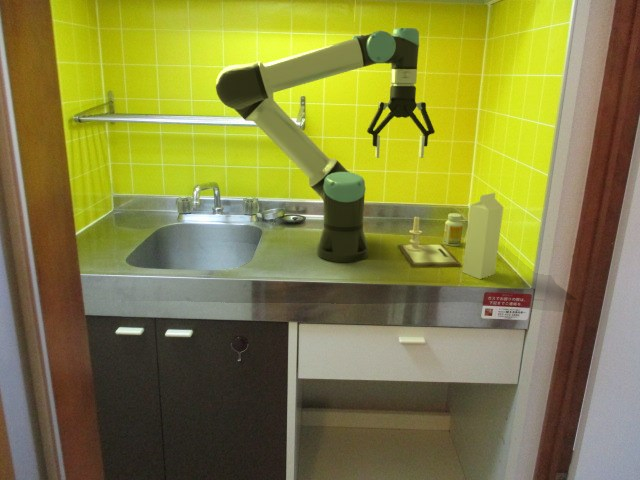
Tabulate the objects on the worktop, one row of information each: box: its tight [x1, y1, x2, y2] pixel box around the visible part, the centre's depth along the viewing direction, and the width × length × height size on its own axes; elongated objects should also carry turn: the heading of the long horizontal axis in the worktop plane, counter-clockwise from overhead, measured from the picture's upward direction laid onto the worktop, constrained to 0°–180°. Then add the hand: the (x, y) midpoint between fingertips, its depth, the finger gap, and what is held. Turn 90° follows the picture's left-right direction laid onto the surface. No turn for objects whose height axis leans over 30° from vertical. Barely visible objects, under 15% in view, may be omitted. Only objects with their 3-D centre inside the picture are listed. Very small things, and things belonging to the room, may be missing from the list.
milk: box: [462, 192, 504, 280], centre depth 130 cm, size 6×6×22 cm
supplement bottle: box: [442, 212, 464, 247], centre depth 156 cm, size 5×5×10 cm
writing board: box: [397, 243, 462, 268], centre depth 146 cm, size 14×17×1 cm
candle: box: [406, 216, 423, 251], centre depth 148 cm, size 5×5×10 cm
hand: (399, 157), depth 153 cm, fingers open, 13 cm apart
